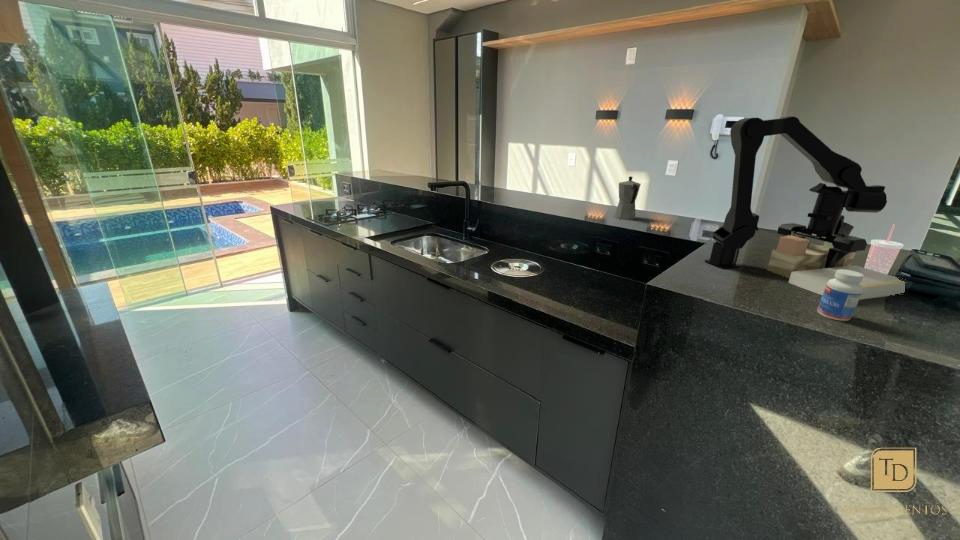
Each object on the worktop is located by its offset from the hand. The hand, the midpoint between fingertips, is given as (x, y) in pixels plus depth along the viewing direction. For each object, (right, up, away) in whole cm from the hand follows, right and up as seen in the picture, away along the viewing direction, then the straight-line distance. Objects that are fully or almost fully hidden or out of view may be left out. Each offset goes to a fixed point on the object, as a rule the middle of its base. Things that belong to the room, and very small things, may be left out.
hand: (808, 266), depth 104 cm
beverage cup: (+17, -2, -1) cm, 17 cm away
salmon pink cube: (-8, +4, -4) cm, 10 cm away
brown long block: (0, -1, +1) cm, 1 cm away
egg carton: (+13, +4, +16) cm, 21 cm away
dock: (0, -5, -11) cm, 12 cm away
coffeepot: (-26, +22, +63) cm, 72 cm away
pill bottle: (-17, -11, -25) cm, 32 cm away
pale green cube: (+8, +5, 0) cm, 10 cm away
